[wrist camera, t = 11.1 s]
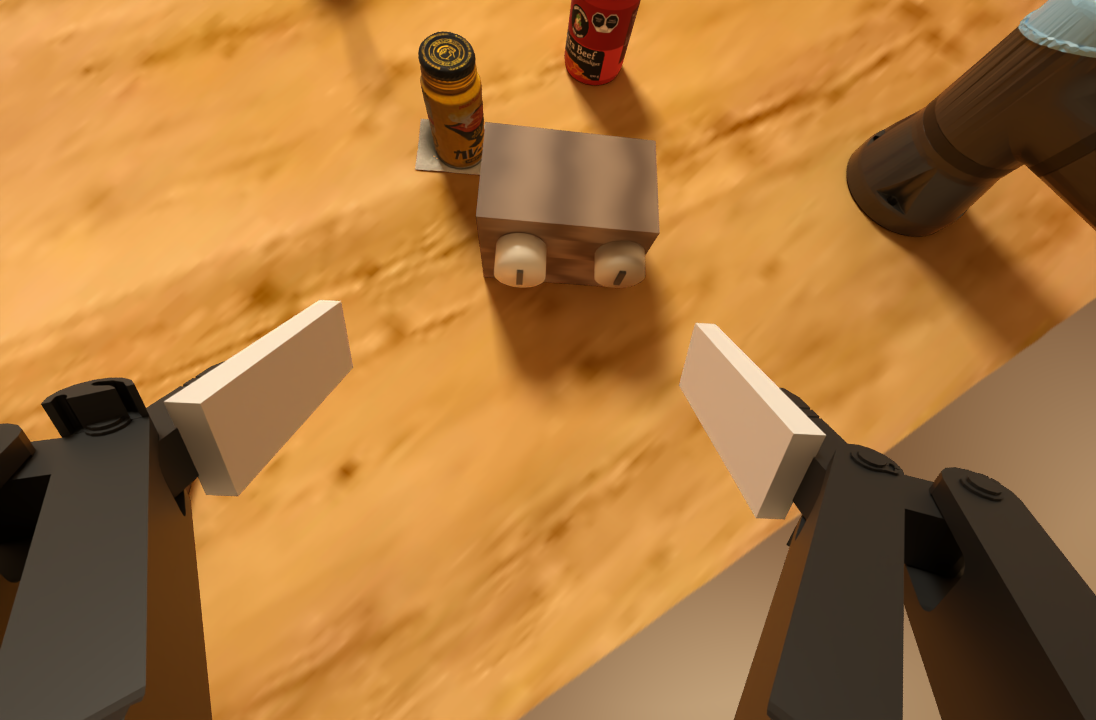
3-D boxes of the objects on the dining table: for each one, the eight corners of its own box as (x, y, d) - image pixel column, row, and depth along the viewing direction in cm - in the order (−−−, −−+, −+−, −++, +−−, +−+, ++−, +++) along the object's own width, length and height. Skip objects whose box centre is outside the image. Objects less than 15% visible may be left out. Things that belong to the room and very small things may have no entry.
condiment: (487, 175, 48) (480, 82, 36) (415, 170, 47) (384, 73, 35) (490, 127, 50) (484, 23, 38) (421, 121, 49) (394, 13, 37)
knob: (548, 164, 43) (553, 128, 39) (543, 292, 39) (547, 268, 35) (505, 159, 43) (504, 122, 38) (494, 288, 39) (492, 263, 34)
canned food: (552, 57, 54) (562, -44, 43) (597, 36, 55) (617, -66, 45) (586, 96, 52) (606, 2, 42) (631, 72, 54) (661, -23, 44)
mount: (623, 213, 48) (655, 140, 37) (624, 309, 45) (660, 260, 34) (490, 200, 47) (485, 121, 36) (481, 299, 43) (473, 244, 33)
